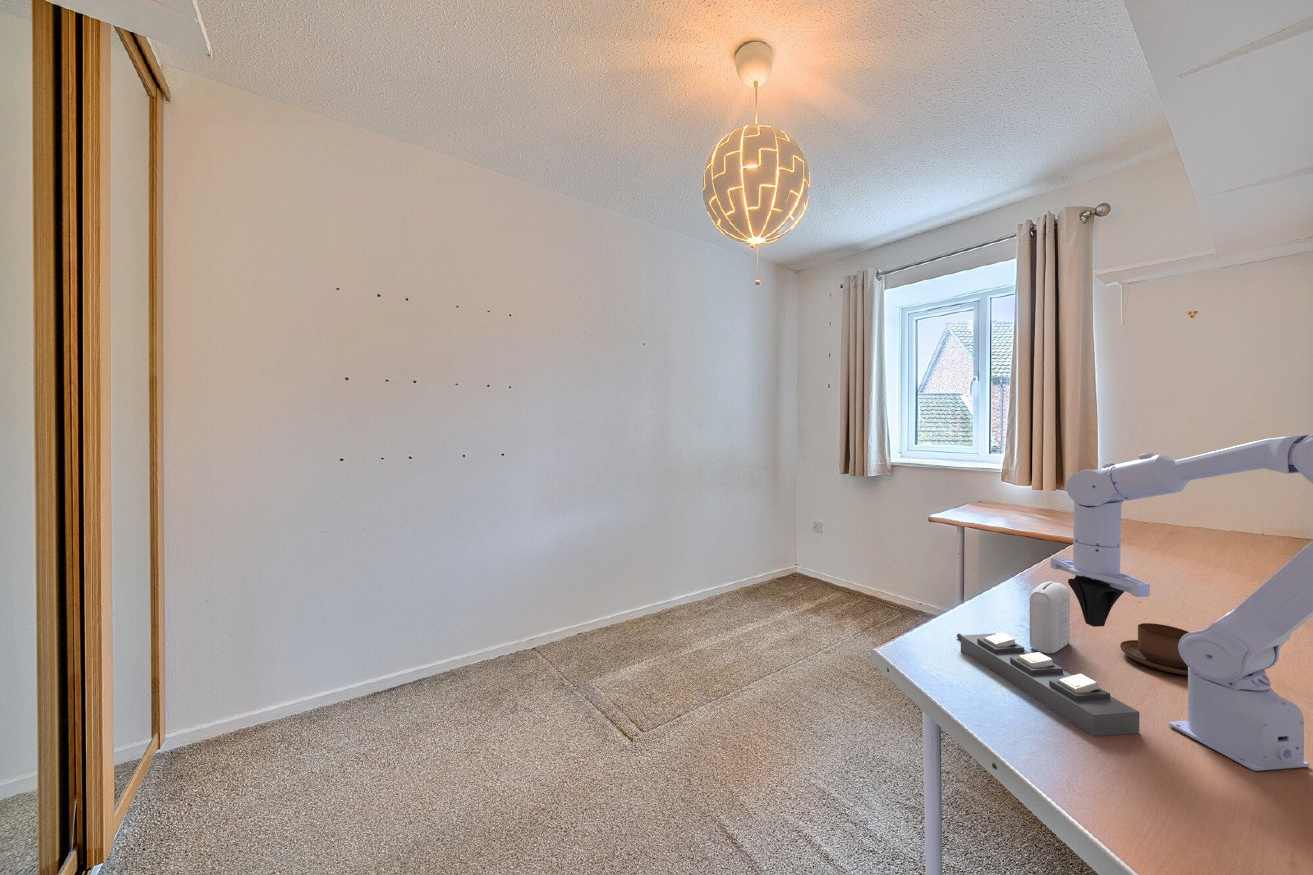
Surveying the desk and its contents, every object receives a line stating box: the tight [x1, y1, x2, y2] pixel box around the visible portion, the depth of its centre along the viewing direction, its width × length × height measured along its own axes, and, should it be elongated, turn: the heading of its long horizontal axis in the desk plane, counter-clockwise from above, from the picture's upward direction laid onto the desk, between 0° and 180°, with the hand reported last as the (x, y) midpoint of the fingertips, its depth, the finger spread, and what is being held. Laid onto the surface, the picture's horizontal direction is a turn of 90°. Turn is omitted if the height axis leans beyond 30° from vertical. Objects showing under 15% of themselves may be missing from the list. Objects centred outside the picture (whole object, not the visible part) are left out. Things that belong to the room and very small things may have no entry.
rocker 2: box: [1059, 673, 1099, 693], centre depth 73 cm, size 3×4×1 cm
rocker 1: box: [985, 632, 1016, 647], centre depth 88 cm, size 3×4×1 cm
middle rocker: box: [1019, 651, 1054, 668], centre depth 80 cm, size 3×4×1 cm
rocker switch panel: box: [956, 632, 1140, 737], centre depth 83 cm, size 32×7×4 cm, turn 5°
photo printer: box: [1029, 581, 1071, 655], centre depth 94 cm, size 10×4×12 cm, turn 123°
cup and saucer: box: [1119, 622, 1190, 676], centre depth 86 cm, size 12×12×6 cm
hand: (1094, 624), depth 79 cm, fingers closed
